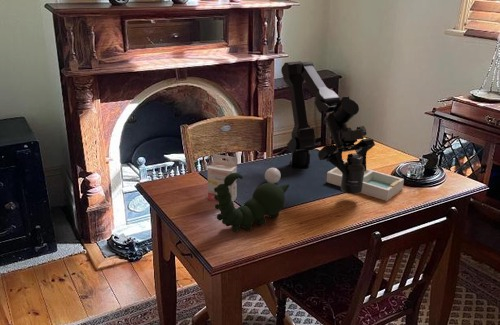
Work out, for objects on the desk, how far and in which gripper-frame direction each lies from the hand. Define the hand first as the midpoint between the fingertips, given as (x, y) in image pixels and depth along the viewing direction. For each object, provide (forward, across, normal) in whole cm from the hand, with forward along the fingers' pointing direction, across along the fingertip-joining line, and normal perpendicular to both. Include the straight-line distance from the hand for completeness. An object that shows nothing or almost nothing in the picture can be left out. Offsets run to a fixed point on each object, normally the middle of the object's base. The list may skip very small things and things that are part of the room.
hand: (356, 173), depth 158 cm
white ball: (-9, -18, +24) cm, 32 cm away
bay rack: (+1, +11, +14) cm, 17 cm away
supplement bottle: (+4, 0, +6) cm, 7 cm away
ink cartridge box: (-6, -38, +21) cm, 44 cm away
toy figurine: (+7, -35, +8) cm, 37 cm away
